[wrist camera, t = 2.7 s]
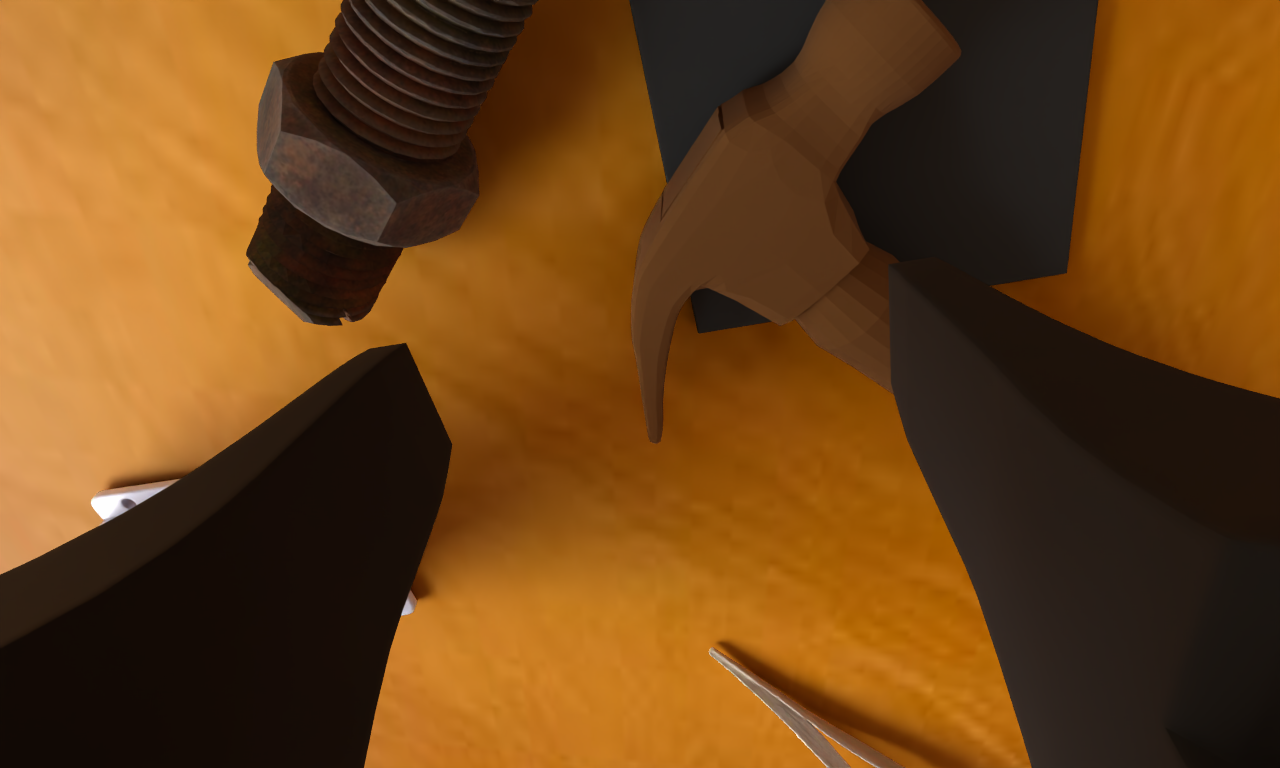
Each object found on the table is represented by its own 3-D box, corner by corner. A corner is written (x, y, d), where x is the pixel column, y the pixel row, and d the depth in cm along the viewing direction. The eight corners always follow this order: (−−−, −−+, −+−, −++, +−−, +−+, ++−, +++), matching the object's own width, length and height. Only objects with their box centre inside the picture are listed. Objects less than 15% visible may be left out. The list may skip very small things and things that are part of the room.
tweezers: (983, 794, 36) (995, 837, 35) (898, 821, 38) (906, 863, 37) (755, 597, 30) (756, 638, 29) (670, 641, 33) (666, 682, 31)
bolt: (342, 210, 22) (620, -392, 14) (448, 333, 21) (808, -227, 13) (135, 231, 17) (372, -670, 9) (261, 391, 17) (646, -434, 8)
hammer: (1421, 578, 26) (858, -62, 16) (1499, 658, 24) (890, -40, 13) (1106, 706, 32) (536, 301, 21) (1142, 781, 29) (516, 364, 19)
